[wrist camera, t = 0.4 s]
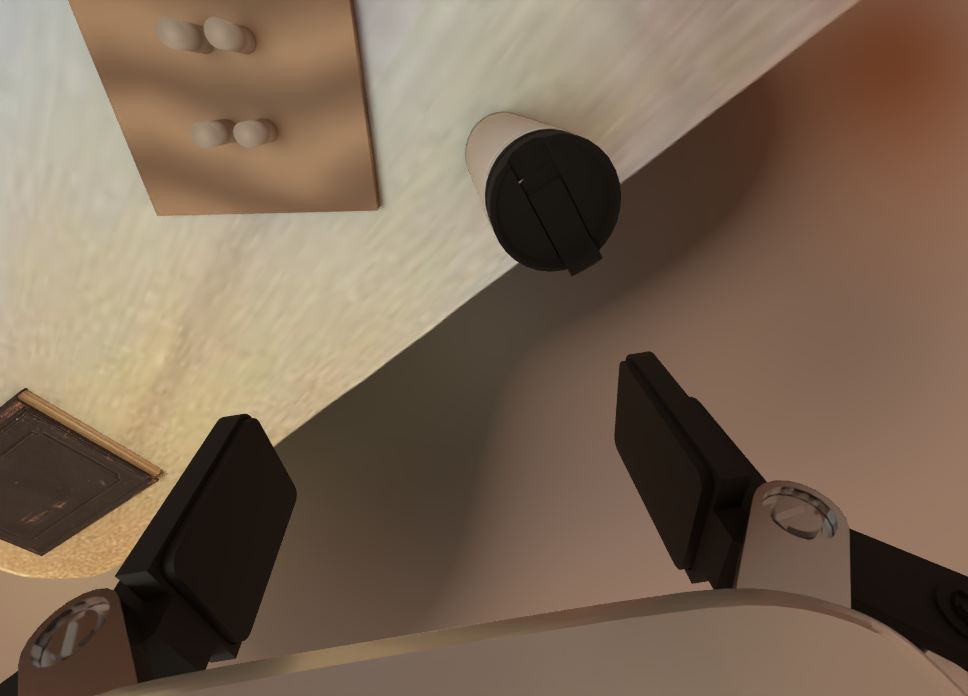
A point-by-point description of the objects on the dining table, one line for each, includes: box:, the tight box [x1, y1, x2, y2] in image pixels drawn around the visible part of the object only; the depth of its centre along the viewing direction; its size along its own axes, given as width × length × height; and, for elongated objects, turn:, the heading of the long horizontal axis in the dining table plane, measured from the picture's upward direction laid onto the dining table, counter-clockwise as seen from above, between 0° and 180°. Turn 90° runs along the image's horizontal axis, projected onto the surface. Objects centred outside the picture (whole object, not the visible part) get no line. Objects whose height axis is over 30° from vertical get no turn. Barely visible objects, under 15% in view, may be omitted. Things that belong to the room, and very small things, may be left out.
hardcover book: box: [0, 388, 161, 556], centre depth 49 cm, size 16×23×2 cm
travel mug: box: [465, 112, 621, 276], centre depth 27 cm, size 6×7×20 cm
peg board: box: [68, 0, 379, 216], centre depth 29 cm, size 18×18×6 cm
